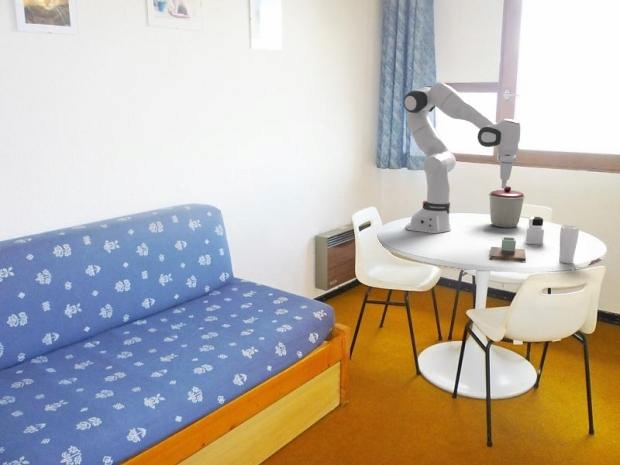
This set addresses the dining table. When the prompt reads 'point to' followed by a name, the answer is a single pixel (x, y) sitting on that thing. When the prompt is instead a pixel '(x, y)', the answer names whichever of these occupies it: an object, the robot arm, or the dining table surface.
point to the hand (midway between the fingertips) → (503, 186)
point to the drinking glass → (568, 243)
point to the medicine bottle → (535, 231)
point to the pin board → (497, 254)
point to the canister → (505, 207)
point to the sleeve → (508, 245)
